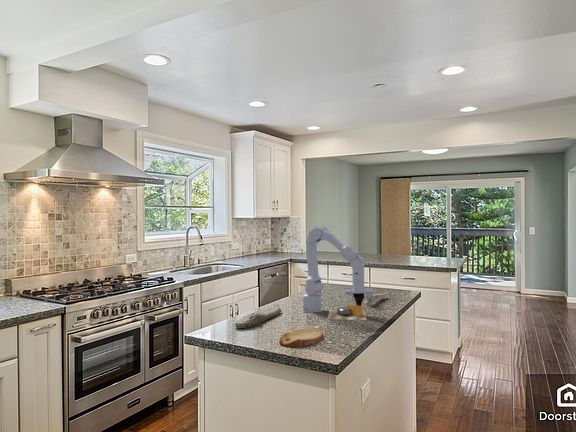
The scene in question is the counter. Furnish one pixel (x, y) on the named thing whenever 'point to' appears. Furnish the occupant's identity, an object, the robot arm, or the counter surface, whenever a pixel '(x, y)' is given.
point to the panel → (334, 315)
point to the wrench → (373, 298)
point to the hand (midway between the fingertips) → (358, 309)
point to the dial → (350, 310)
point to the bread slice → (301, 338)
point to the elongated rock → (257, 318)
